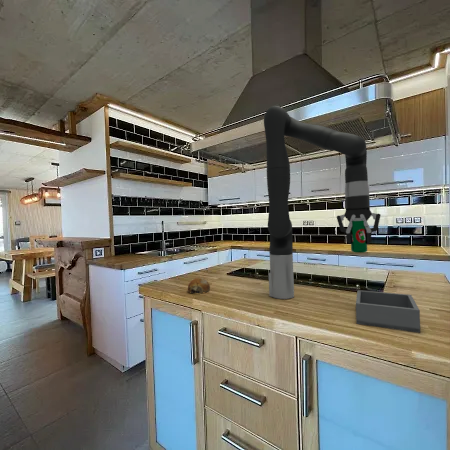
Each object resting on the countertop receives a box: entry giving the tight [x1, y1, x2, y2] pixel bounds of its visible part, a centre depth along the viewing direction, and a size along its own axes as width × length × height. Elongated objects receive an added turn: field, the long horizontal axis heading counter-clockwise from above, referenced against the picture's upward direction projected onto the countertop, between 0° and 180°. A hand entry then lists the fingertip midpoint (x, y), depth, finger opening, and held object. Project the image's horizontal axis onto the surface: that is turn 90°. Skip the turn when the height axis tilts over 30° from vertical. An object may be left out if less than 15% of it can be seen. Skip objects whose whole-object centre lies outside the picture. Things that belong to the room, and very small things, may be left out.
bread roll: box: [187, 277, 211, 294], centre depth 117 cm, size 10×10×8 cm
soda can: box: [350, 218, 368, 254], centre depth 90 cm, size 5×5×12 cm
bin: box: [355, 289, 421, 334], centre depth 78 cm, size 15×15×6 cm
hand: (359, 243), depth 89 cm, fingers closed on soda can, 5 cm apart
